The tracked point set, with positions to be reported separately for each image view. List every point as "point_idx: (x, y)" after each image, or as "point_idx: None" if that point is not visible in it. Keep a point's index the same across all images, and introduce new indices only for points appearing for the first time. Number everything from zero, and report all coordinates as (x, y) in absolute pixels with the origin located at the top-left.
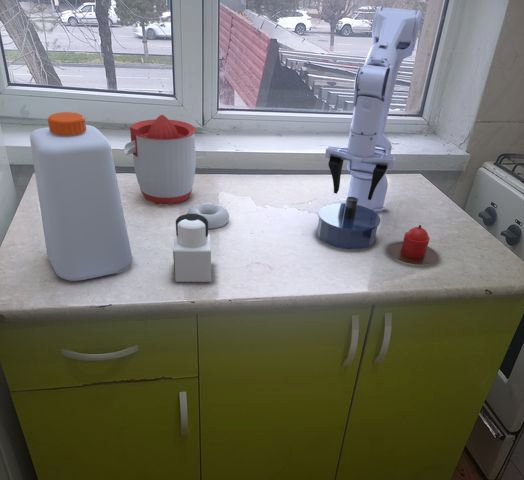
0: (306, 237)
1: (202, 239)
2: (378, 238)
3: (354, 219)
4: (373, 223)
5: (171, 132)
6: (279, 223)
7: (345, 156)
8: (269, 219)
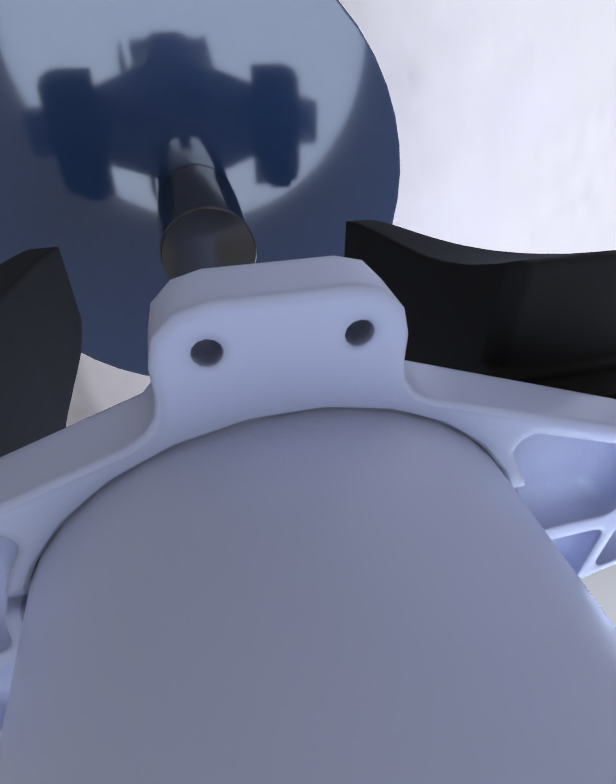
0: (389, 45)
1: None
2: None
3: (142, 161)
4: None
5: None
6: (537, 150)
7: (511, 389)
8: (582, 168)
